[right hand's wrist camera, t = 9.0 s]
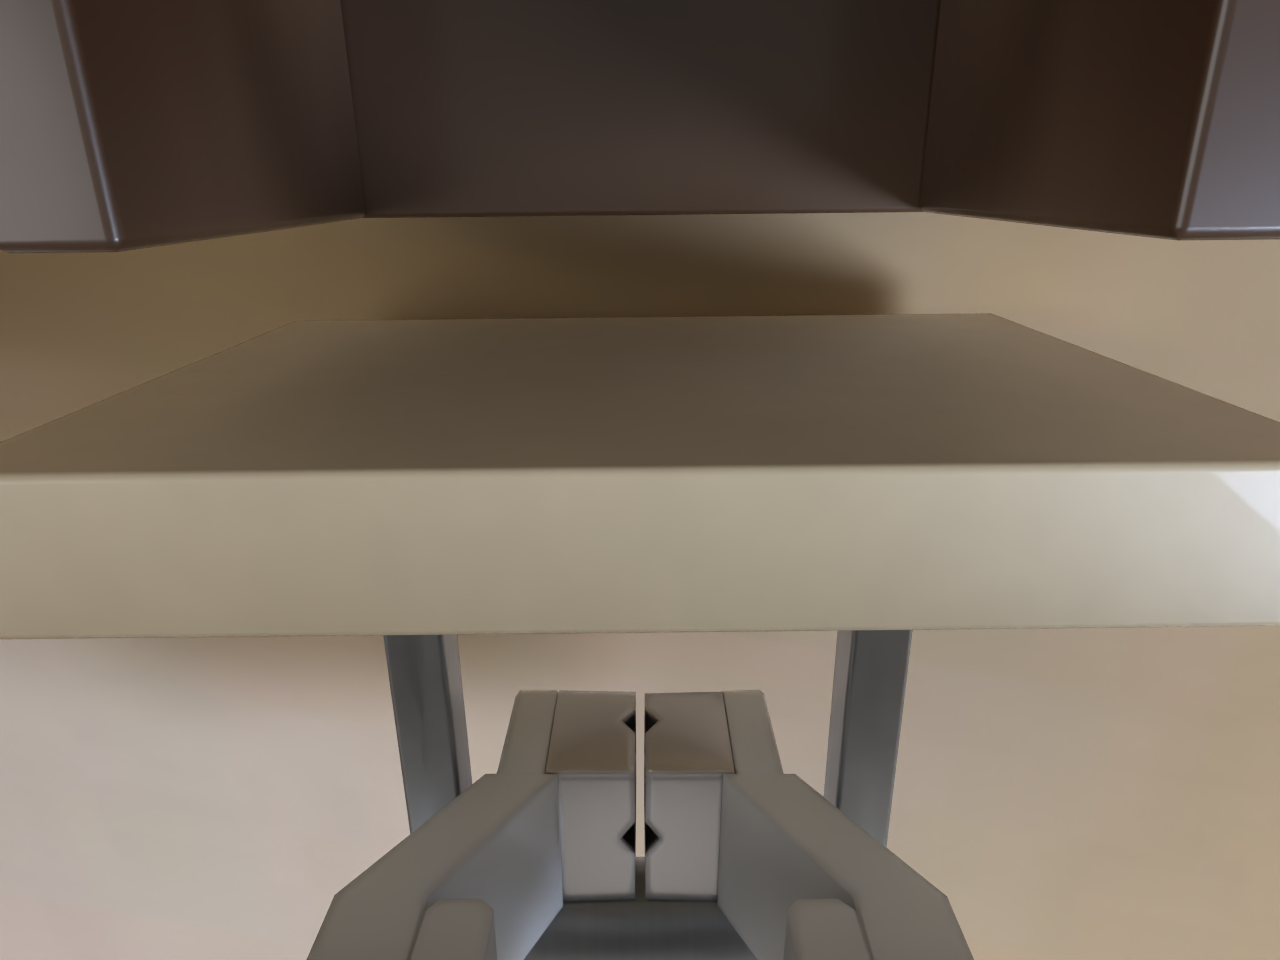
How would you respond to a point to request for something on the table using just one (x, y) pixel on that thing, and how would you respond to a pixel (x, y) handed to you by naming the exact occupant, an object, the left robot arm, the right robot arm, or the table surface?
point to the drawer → (638, 347)
